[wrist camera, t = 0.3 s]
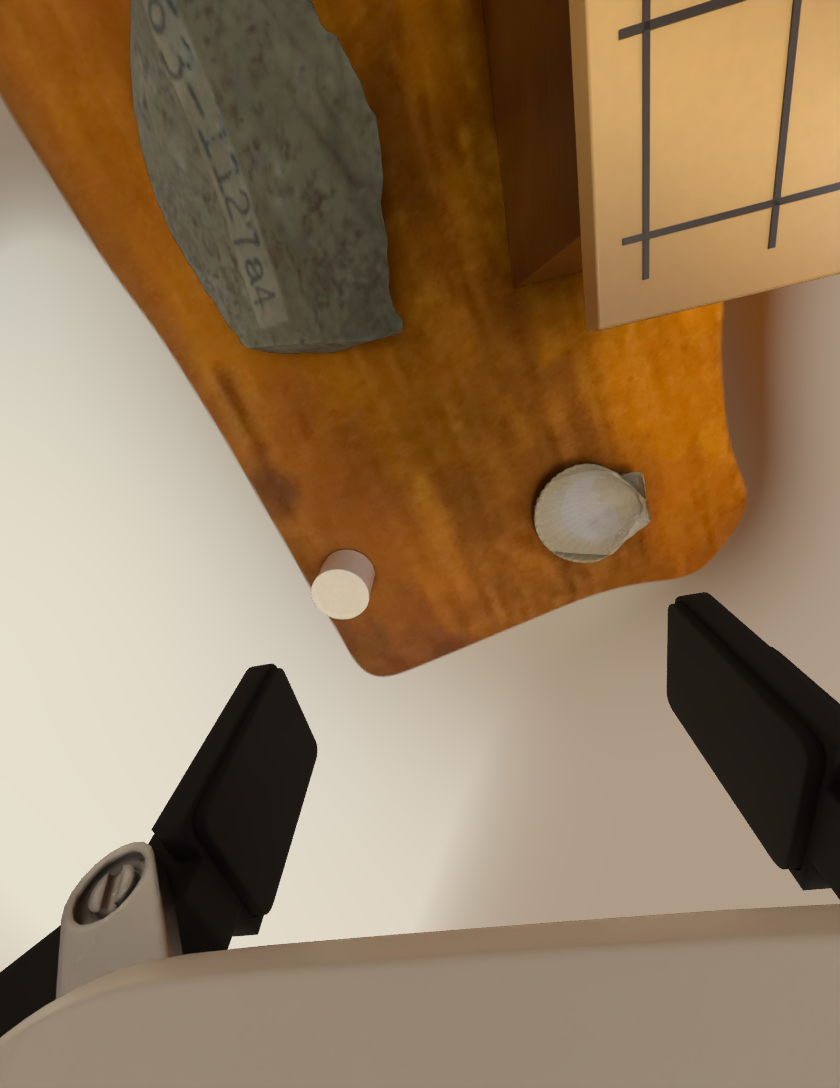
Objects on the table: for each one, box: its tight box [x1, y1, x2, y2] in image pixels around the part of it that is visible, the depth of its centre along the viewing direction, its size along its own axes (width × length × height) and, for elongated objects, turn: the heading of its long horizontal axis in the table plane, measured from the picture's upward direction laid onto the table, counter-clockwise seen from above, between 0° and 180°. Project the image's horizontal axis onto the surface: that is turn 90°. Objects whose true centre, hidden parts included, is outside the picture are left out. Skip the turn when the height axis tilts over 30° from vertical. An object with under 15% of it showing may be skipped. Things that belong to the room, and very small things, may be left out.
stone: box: [130, 0, 403, 353], centre depth 24 cm, size 20×4×15 cm
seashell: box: [534, 463, 651, 562], centre depth 32 cm, size 8×3×8 cm
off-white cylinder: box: [311, 550, 375, 619], centre depth 35 cm, size 5×5×4 cm
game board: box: [482, 0, 840, 332], centre depth 16 cm, size 20×9×18 cm, turn 12°
